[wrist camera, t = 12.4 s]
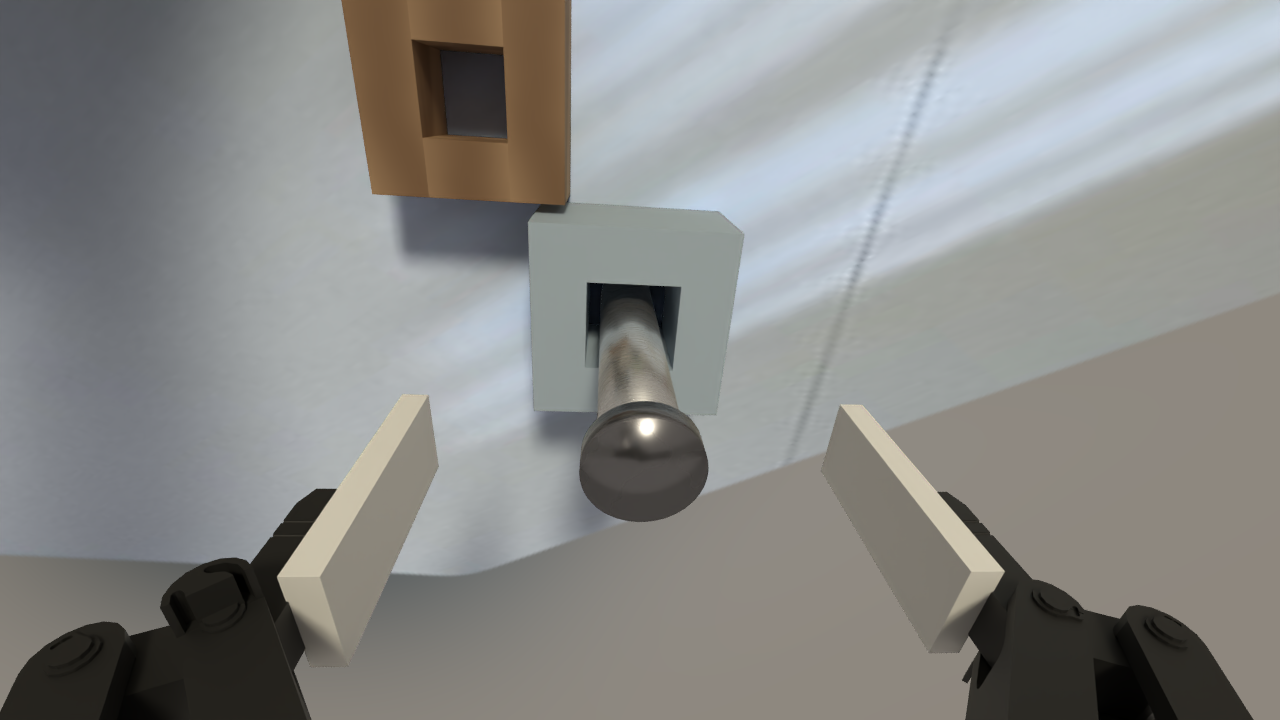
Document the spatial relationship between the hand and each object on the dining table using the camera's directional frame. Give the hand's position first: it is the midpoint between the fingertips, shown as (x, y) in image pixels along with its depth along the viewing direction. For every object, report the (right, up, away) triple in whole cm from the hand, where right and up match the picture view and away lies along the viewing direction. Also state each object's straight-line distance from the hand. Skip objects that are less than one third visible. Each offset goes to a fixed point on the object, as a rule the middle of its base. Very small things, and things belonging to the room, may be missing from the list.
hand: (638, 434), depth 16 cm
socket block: (-1, +7, +14) cm, 16 cm away
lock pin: (-1, +6, +14) cm, 16 cm away
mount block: (-8, +16, +9) cm, 20 cm away
